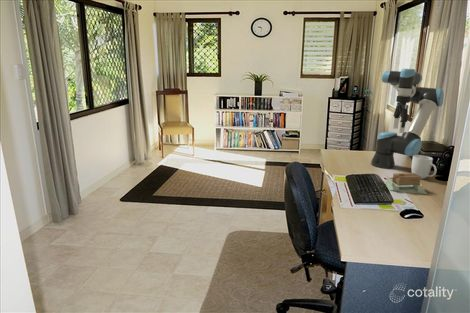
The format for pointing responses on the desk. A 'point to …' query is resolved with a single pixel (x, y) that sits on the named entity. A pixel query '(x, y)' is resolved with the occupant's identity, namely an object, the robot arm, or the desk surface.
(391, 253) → the desk surface
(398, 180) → the door
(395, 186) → the carcass
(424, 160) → the mug
